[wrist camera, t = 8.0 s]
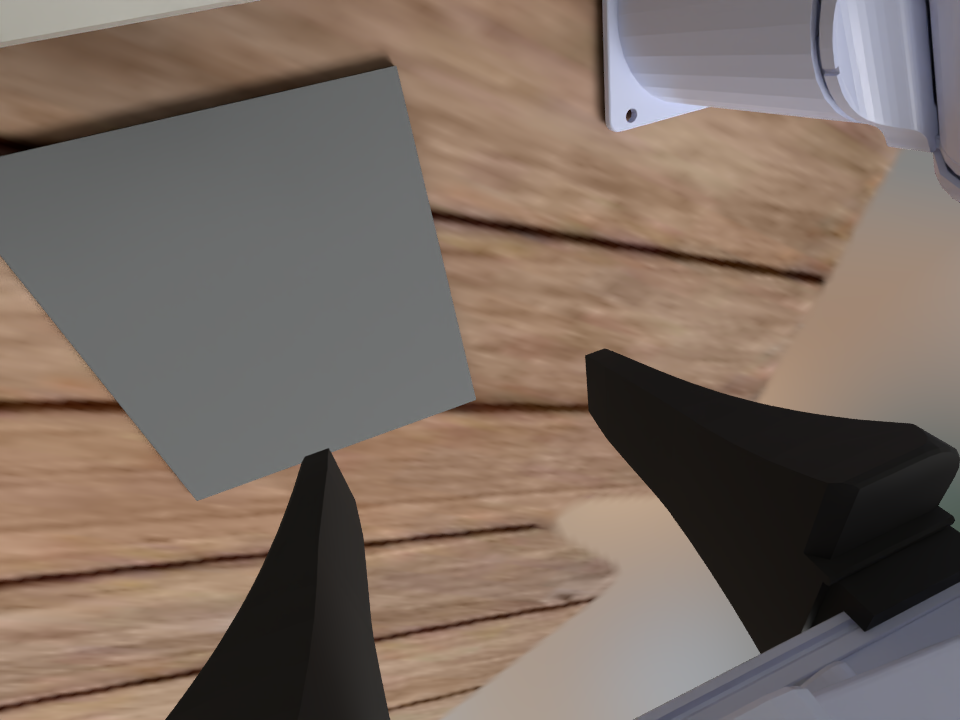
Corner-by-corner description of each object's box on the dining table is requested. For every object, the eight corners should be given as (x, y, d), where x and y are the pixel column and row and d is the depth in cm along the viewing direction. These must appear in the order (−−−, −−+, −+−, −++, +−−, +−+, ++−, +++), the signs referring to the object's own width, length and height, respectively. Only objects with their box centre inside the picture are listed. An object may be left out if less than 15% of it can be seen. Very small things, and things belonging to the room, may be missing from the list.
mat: (394, 65, 17) (396, 65, 16) (473, 395, 25) (476, 399, 25) (-59, 169, 14) (-66, 172, 14) (198, 494, 23) (196, 500, 23)
